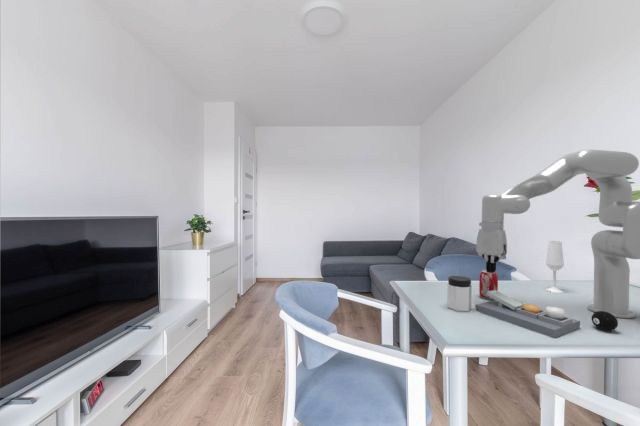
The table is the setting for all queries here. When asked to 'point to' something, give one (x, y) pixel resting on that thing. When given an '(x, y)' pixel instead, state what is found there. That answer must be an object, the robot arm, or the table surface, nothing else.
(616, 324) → the billiard ball
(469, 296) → the jar
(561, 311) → the button
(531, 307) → the button
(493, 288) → the soda can
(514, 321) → the panel
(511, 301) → the plate
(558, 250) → the champagne flute
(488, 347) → the table surface
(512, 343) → the table surface
